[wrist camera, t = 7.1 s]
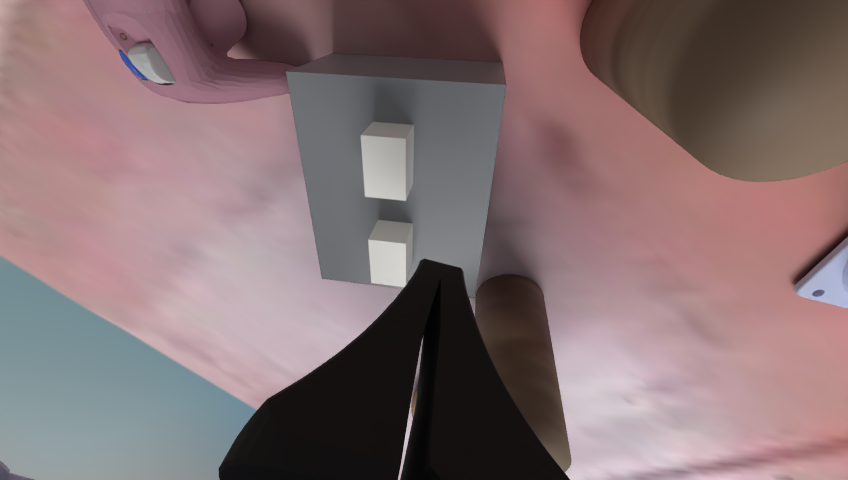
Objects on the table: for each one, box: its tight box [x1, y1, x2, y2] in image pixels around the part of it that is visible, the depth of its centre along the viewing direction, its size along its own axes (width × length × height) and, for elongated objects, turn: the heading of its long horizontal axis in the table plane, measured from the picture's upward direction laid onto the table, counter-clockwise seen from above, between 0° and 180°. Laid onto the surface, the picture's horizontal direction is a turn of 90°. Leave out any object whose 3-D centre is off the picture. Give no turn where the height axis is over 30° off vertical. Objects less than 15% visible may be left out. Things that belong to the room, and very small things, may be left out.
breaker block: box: [286, 53, 506, 298], centre depth 17 cm, size 8×10×7 cm
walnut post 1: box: [475, 274, 571, 472], centre depth 20 cm, size 4×4×10 cm
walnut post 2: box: [580, 0, 848, 182], centre depth 11 cm, size 4×4×10 cm
